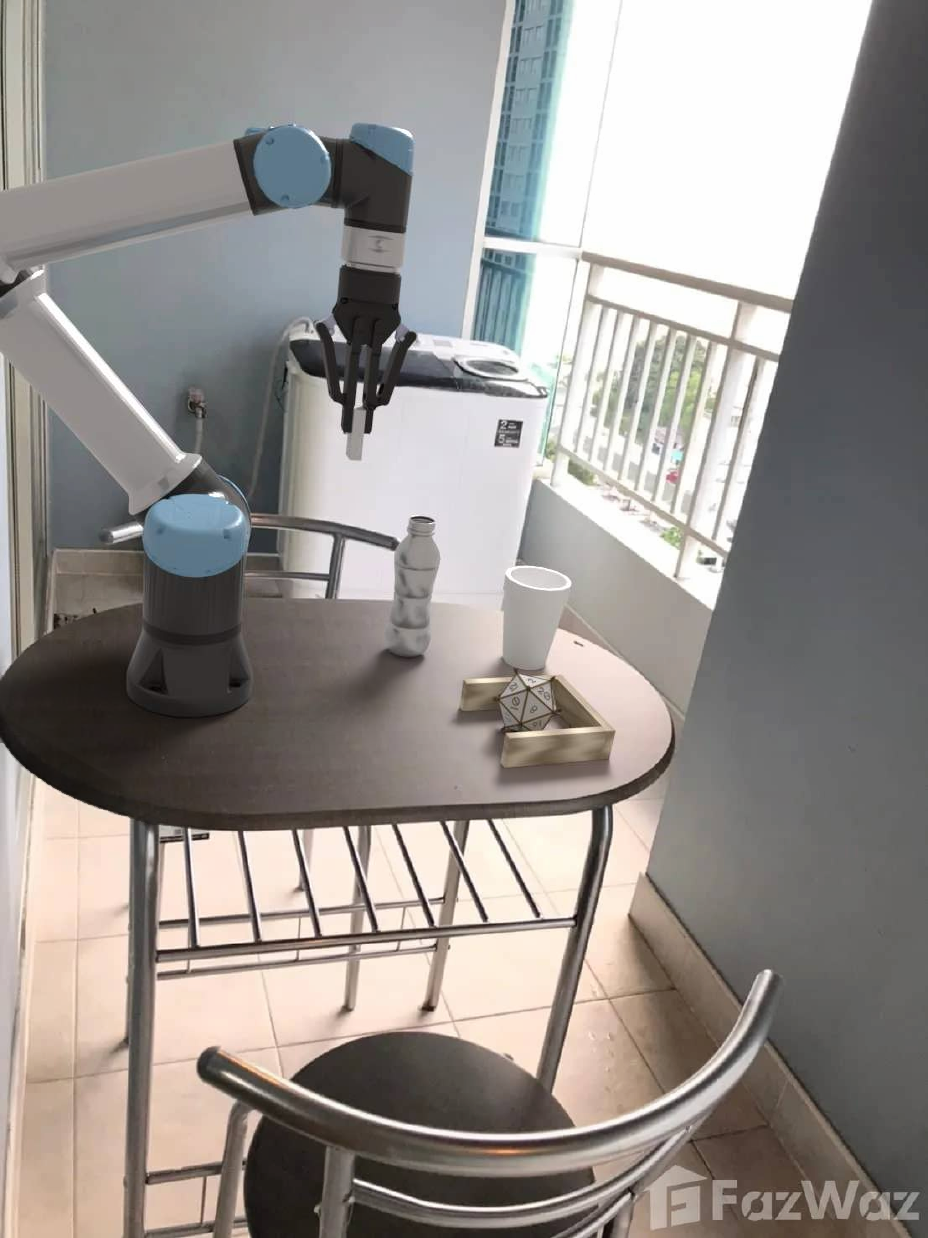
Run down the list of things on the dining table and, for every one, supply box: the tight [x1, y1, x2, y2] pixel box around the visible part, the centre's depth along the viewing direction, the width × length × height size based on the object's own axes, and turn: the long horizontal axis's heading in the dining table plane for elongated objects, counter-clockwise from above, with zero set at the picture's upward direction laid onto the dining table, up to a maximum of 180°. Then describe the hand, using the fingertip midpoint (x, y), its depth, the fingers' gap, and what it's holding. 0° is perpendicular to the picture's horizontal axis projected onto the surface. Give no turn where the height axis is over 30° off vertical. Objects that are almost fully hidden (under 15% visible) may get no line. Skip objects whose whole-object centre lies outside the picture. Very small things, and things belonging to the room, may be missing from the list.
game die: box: [492, 666, 563, 733], centre depth 126 cm, size 9×8×10 cm
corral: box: [459, 674, 616, 769], centre depth 127 cm, size 14×15×4 cm
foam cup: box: [502, 565, 572, 671], centre depth 145 cm, size 10×9×13 cm
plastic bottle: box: [384, 514, 441, 658], centre depth 140 cm, size 6×7×20 cm
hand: (353, 457), depth 131 cm, fingers closed
